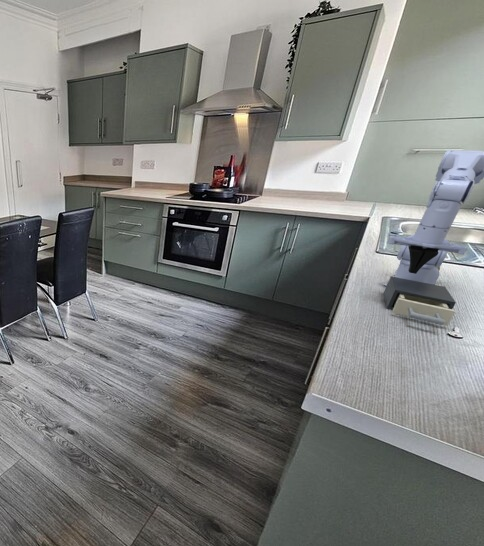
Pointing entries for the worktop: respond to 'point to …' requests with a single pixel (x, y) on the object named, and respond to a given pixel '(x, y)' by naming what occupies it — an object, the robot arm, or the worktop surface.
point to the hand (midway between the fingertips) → (412, 272)
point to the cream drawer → (423, 309)
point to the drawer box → (416, 291)
